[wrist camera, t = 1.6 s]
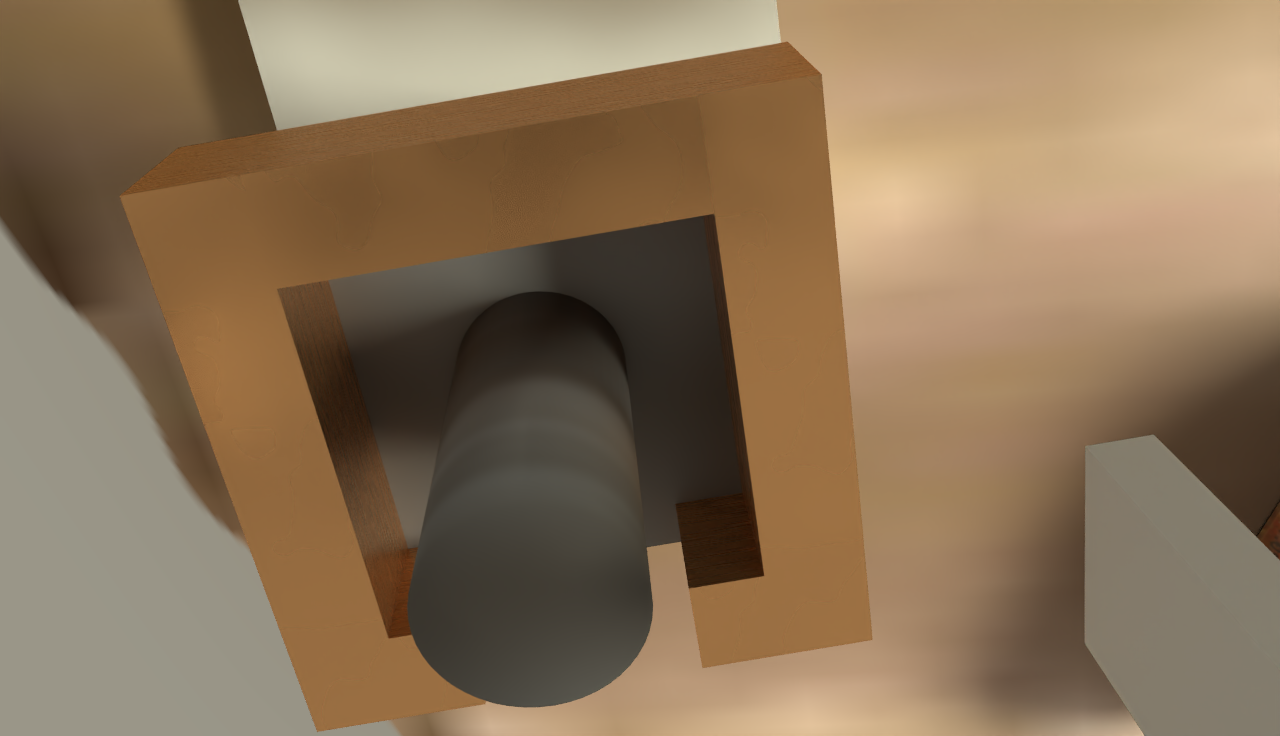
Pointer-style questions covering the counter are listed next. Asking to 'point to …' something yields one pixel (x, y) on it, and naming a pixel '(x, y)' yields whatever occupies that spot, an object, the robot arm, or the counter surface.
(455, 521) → the post stand
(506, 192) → the link
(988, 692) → the counter surface
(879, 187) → the counter surface
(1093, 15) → the counter surface
